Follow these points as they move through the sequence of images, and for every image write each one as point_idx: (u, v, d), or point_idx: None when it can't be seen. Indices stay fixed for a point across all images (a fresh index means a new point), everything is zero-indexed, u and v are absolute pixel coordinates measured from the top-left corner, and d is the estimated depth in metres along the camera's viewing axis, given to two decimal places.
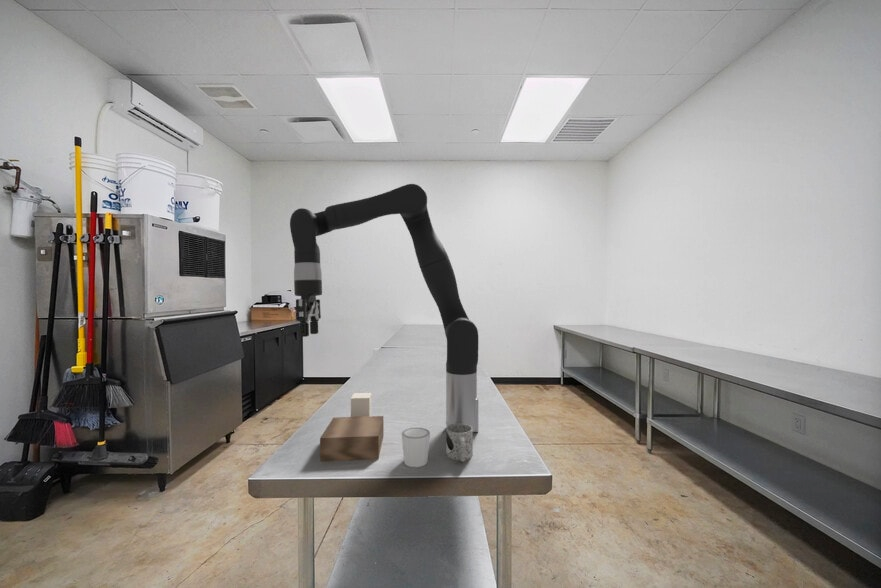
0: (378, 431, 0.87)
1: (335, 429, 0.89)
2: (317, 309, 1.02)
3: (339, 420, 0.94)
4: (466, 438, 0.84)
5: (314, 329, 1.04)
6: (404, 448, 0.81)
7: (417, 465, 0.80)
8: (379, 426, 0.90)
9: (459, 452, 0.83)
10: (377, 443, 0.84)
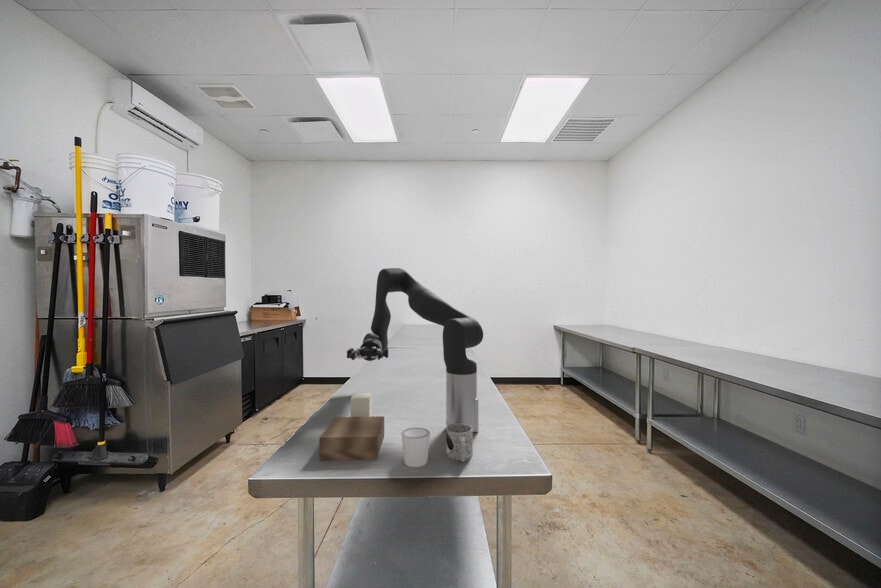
0: (377, 431, 0.87)
1: (335, 428, 0.89)
2: (375, 348, 1.22)
3: (340, 420, 0.95)
4: (466, 438, 0.84)
5: None
6: (404, 448, 0.81)
7: (417, 465, 0.80)
8: (379, 426, 0.90)
9: (459, 452, 0.83)
10: (376, 444, 0.84)
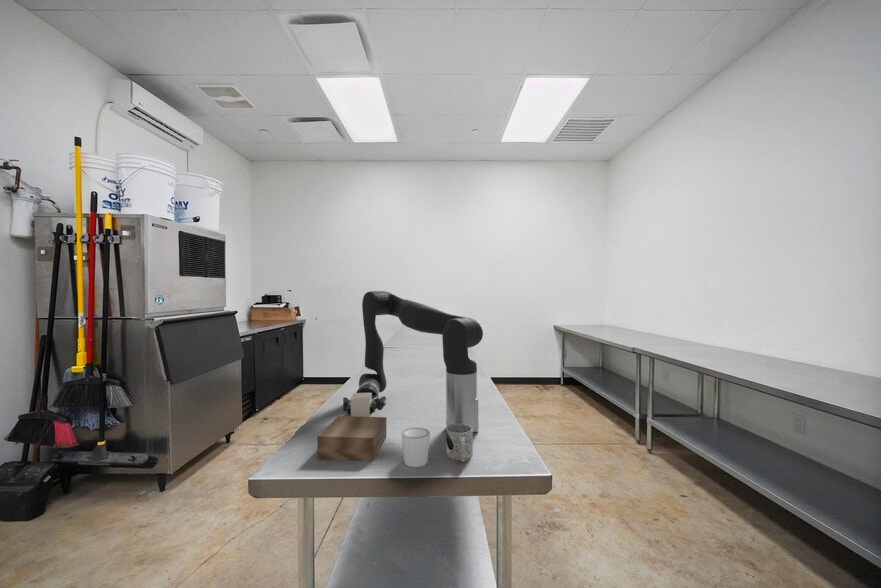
0: (375, 433, 0.86)
1: (335, 428, 0.89)
2: None
3: (342, 419, 0.95)
4: (466, 438, 0.84)
5: None
6: (404, 448, 0.81)
7: (418, 465, 0.80)
8: (378, 427, 0.89)
9: (459, 452, 0.83)
10: (372, 445, 0.83)
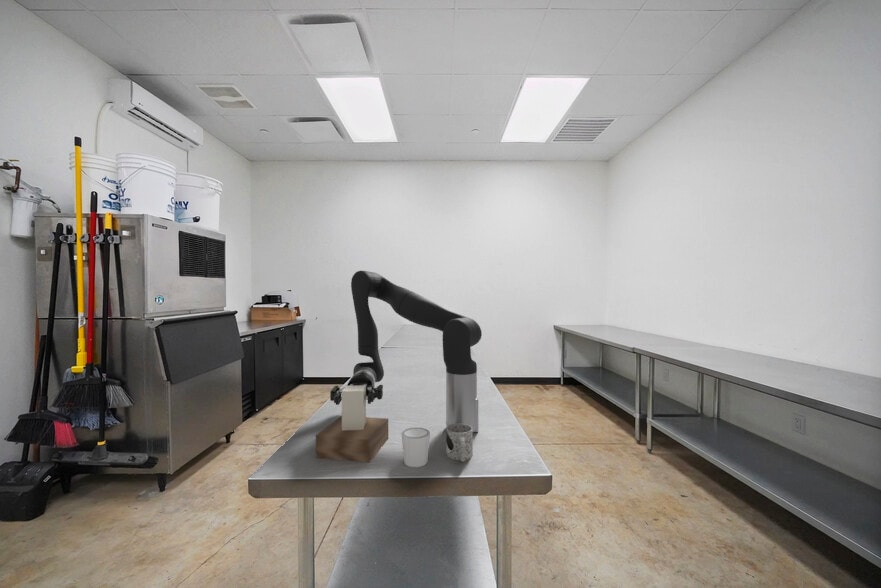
0: (372, 434, 0.85)
1: (335, 427, 0.90)
2: (366, 386, 0.96)
3: None
4: (466, 438, 0.84)
5: None
6: (404, 448, 0.81)
7: (418, 465, 0.80)
8: (377, 429, 0.89)
9: (459, 452, 0.83)
10: (368, 446, 0.83)
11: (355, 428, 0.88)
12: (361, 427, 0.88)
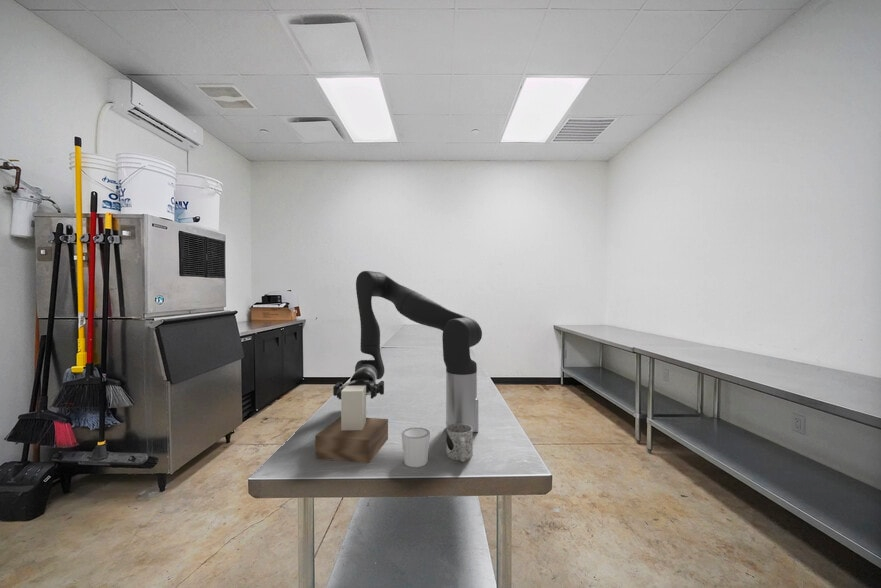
0: (372, 434, 0.85)
1: (334, 427, 0.90)
2: (368, 382, 1.01)
3: None
4: (466, 438, 0.84)
5: None
6: (404, 448, 0.81)
7: (418, 465, 0.80)
8: (376, 429, 0.88)
9: (459, 452, 0.83)
10: (368, 447, 0.82)
11: (354, 428, 0.88)
12: (360, 427, 0.88)
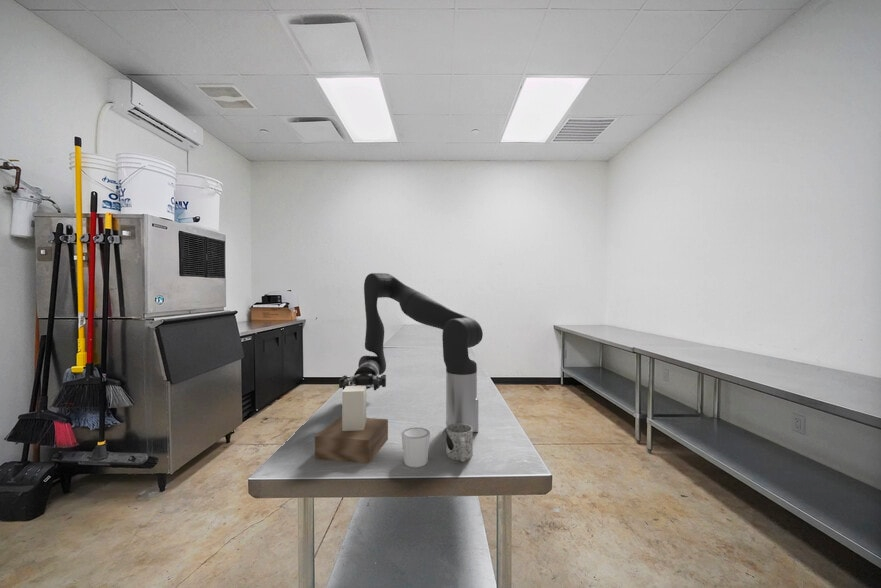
0: (372, 435, 0.85)
1: (334, 428, 0.89)
2: (371, 375, 1.09)
3: None
4: (466, 438, 0.84)
5: None
6: (404, 448, 0.81)
7: (418, 465, 0.80)
8: (376, 430, 0.88)
9: (459, 452, 0.83)
10: (367, 447, 0.82)
11: (356, 428, 0.88)
12: (362, 427, 0.88)
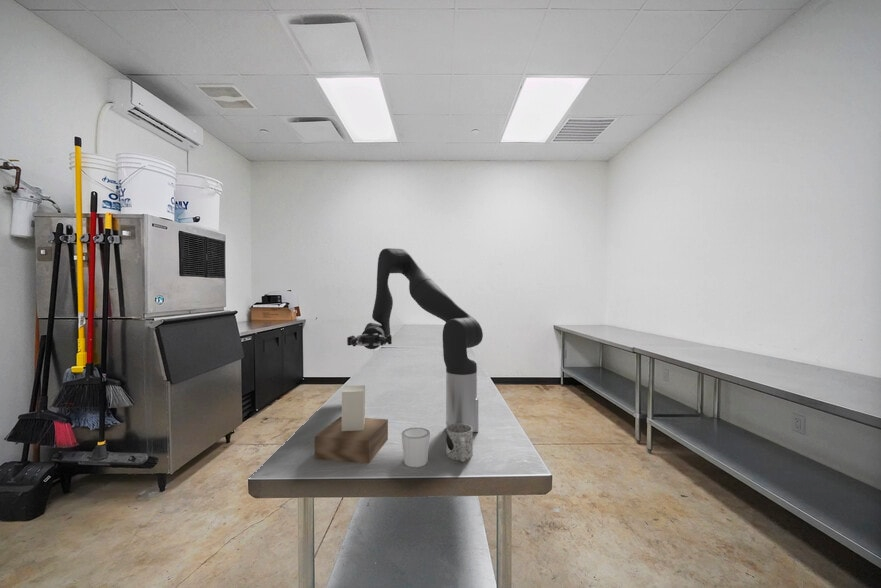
0: (372, 435, 0.85)
1: (334, 428, 0.89)
2: (377, 334, 1.15)
3: None
4: (466, 438, 0.84)
5: None
6: (404, 448, 0.81)
7: (418, 465, 0.80)
8: (376, 430, 0.88)
9: (459, 452, 0.83)
10: (367, 447, 0.82)
11: (355, 429, 0.88)
12: (361, 427, 0.88)
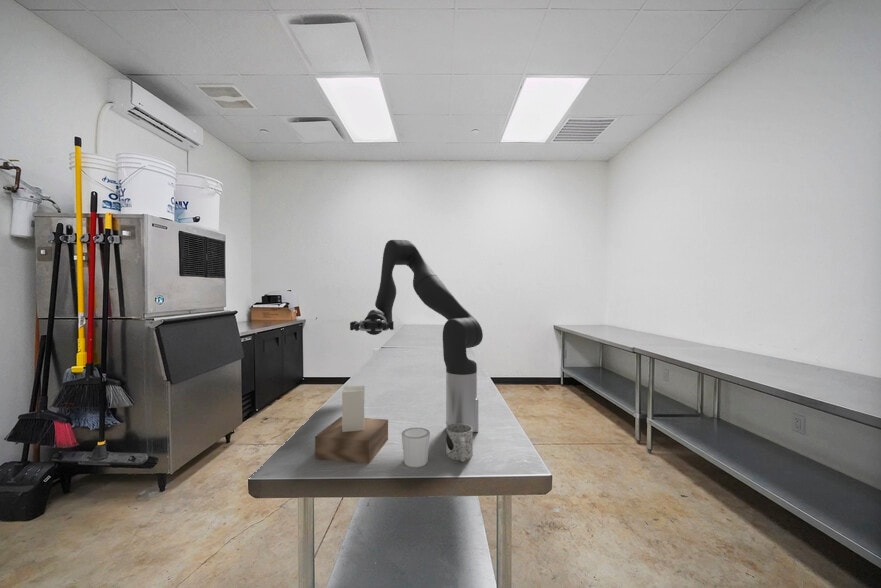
0: (372, 435, 0.85)
1: (334, 428, 0.89)
2: (379, 320, 1.16)
3: None
4: (466, 438, 0.84)
5: None
6: (404, 448, 0.81)
7: (418, 465, 0.80)
8: (376, 430, 0.88)
9: (459, 452, 0.83)
10: (368, 448, 0.82)
11: (356, 429, 0.88)
12: (362, 428, 0.88)
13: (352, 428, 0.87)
